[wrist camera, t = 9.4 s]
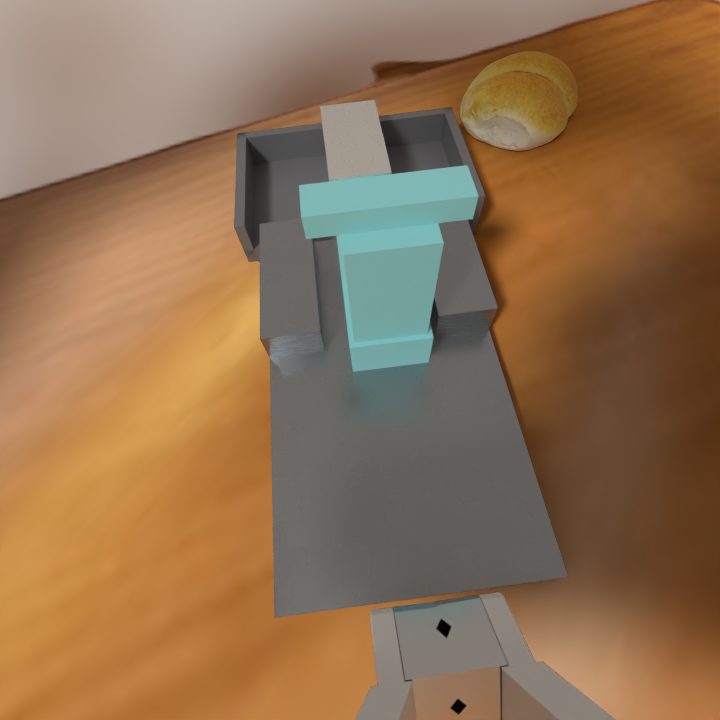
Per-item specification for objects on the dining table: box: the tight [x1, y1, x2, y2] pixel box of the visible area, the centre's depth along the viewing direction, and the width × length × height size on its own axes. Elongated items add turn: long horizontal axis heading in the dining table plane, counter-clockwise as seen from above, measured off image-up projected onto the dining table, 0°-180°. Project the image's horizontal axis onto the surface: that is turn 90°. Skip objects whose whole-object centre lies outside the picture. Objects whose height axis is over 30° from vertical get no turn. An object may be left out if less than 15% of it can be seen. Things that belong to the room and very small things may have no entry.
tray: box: [234, 107, 486, 262], centre depth 28 cm, size 15×9×3 cm, turn 97°
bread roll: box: [460, 51, 579, 151], centre depth 31 cm, size 8×9×4 cm
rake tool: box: [299, 165, 478, 372], centre depth 20 cm, size 6×10×10 cm, turn 6°
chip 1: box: [320, 100, 382, 159], centre depth 27 cm, size 4×4×4 cm
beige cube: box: [324, 134, 392, 182], centre depth 25 cm, size 4×4×4 cm
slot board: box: [260, 219, 568, 618], centre depth 21 cm, size 12×20×3 cm, turn 7°
